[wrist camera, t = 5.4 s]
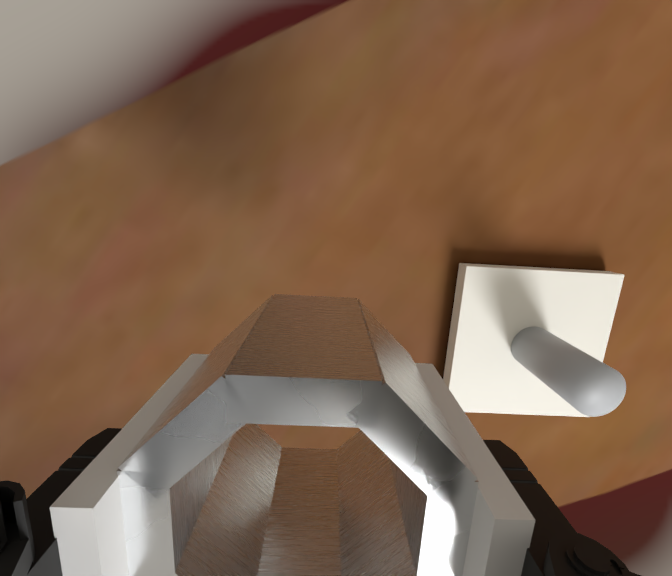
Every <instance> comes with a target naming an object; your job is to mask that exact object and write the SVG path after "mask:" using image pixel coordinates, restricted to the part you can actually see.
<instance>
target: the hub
mask: <svg viewBox="0 0 672 576" xmlns="http://www.w3.org/2000/svg"><path fill="white" fill-rule="evenodd" d="M257 424H275V425H303V426H331V427H359V428H360V429H361V431H359V432H358V433H357V434H356V435H354V436H353V437H352V438H351V439H349V440H348V441H347V442H345V443H344V444H343V445H342V446H340V447H339V448H338V449H311V448H282V447H281V446H280V445H279V444H278V443H277V442H275V441H274V440H273V439H272V438H271V437H270V436H269V435H268V434H267V433H266V432H265V431H263V430H262V429H261V428H260V427H259V426H258V425H257ZM117 476H119V483H120V493H121V502H122V512H123V522H124V531H125V541H126V551H127V560H128V570H129V576H462V575H463V569H464V563H465V558H466V552H467V546H468V541H469V535H470V529H471V524H472V518H473V512H474V506H475V501H476V495H477V489H478V484H479V481H478V480H477V479H478V478H477V476H476V475H475V473H474V471H473V469H472V467H471V465H470V464H469V462H468V460H467V458H466V456H465V454H464V453H463V451H462V449H461V447H460V445H459V443H458V442H457V440H456V438H455V436H454V434H453V432H452V431H451V429H450V427H449V425H448V423H447V421H446V420H445V418H444V416H443V414H442V412H441V411H440V409H439V407H438V405H437V403H436V401H435V400H434V398H433V396H432V394H431V392H430V390H429V389H428V387H427V385H426V383H425V381H424V379H423V378H422V376H421V374H420V372H419V370H418V368H417V367H416V365H415V363H414V361H413V359H412V357H411V356H410V354H409V353H408V352H407V351H406V350H405V349H404V348H403V347H402V346H401V344H400V343H399V342H398V341H397V340H396V339H395V338H394V337H393V336H392V335H391V334H390V332H389V331H388V330H387V329H386V328H385V327H384V326H383V325H382V324H381V323H380V322H379V320H378V319H377V318H376V317H375V316H374V315H373V314H372V313H371V312H370V311H369V310H368V308H367V307H366V306H365V305H364V304H363V303H362V302H361V301H360V300H359V299H358V300H357V298H344V297H323V296H302V295H281V294H275V295H274V296H273V295H272V296H271V297H270V298H269V299H268V300H267V301H265V302H264V303H263V304H262V305H261V306H260V307H259V308H258V309H257V310H255V311H254V312H253V313H252V314H251V315H250V316H249V317H248V318H247V319H246V320H244V321H243V322H242V323H241V324H240V325H239V326H238V327H237V328H236V329H234V330H233V331H232V332H231V333H230V334H229V335H228V336H227V337H226V338H225V339H223V340H222V341H221V342H220V343H219V344H218V345H217V346H216V347H215V348H214V349H213V350H212V352H211V353H210V354H209V355H208V357H207V358H206V359H205V360H204V361H203V363H202V364H201V365H200V366H199V368H198V369H197V370H196V371H195V373H194V374H193V375H192V376H191V378H190V379H189V380H188V381H187V383H186V384H185V385H184V386H183V388H182V389H181V390H180V391H179V392H178V394H177V395H176V396H175V397H174V399H173V400H172V401H171V402H170V404H169V405H168V406H167V407H166V409H165V410H164V411H163V412H162V414H161V415H160V416H159V417H158V419H157V420H156V421H155V422H154V423H153V425H152V426H151V427H150V428H149V430H148V431H147V432H146V433H145V435H144V436H143V437H142V438H141V440H140V441H139V442H138V443H137V445H136V446H135V447H134V448H133V450H132V451H131V452H130V453H129V454H128V456H127V457H126V458H125V459H124V461H123V462H122V463H121V464H120V466H119V467H118V470H117Z"/></svg>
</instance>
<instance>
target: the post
mask: <svg viewBox="0 0 672 576" xmlns="http://www.w3.org/2000/svg"><path fill="white" fill-rule="evenodd" d="M623 279H624V275H623V274H619V273H614V272H610V271H596V270H578V269H560V268H542V267H523V266H505V265H487V264H469V263H459V269H458V276H457V283H456V290H455V297H454V304H453V312H452V319H451V326H450V333H449V340H448V347H447V354H446V362H445V369H444V376H443V381H444V382H445V384H446V385H447V387H448V388H449V390H450V391H451V393H452V394H453V396H454V397H455V399H456V400H457V402H458V403H459V405H460V406H461V408H462V409H463V411H464V412H478V413H503V414H528V415H552V416H577V417H589V416H592V417H596V416H602V415H605V414H607V413H609V412H611V411H613V410H614V409H615V408H616V407H617V406H618V405H619V404H620V403H621V402H622V400H623V398H624V396H625V392H626V383H625V380H624V377H623V376H622V375H621V374H620V373H619V372H618V371H616V370H615V369H613V368H611V367H609V366H608V365H606V364H604V363H603V359H604V355H605V351H606V347H607V343H608V339H609V335H610V331H611V327H612V323H613V319H614V315H615V311H616V307H617V303H618V299H619V295H620V291H621V287H622V283H623Z"/></svg>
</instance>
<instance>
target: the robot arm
mask: <svg viewBox="0 0 672 576" xmlns="http://www.w3.org/2000/svg"><path fill="white" fill-rule="evenodd" d="M207 357H208V355H206V354H191V355H190V356H189V357H188V358H187V360H186V361H185V362H184V363H183V364H182V365H181V366H180V367H179V368H178V369H177V370H176V371H175V372H174V374H173V375H172V376H171V377H170V378H169V379H168V380H167V381H166V382H165V383H164V384H163V385H162V386H161V388H160V389H159V390H158V391H157V392H156V393H155V394H154V395H153V396H152V397H151V398H150V399H149V401H148V402H147V403H146V404H145V405H144V406H143V407H142V408H141V409H140V410H139V411H138V412H137V413H136V415H135V416H134V417H133V418H132V419H131V420H130V421H129V422H128V423H127V424H126V425H125V426H124V427H123V429H118V428H107V429H105V430H104V431H102V432H100V433H99V434H97V435H95V436H94V437H92V438H90V439H89V440H87V441H86V442H85V443H84V444H83V445H82V446H81V447H80V448H79V449H78V450H77V451H76V452H75V453H74V454H73V455H72V457H71V458H68V459H67V460H66V461H65V462H64V463H63V464H62V465H61V466H60V467H59V470H58V471H55V472H54V473H53V474H52V475H51V476H50V477H49V478H48V479H47V480H46V481H45V482H44V483H43V484H42V485H41V486H40V487H39V488H37V489H36V490H35V491H34V492H33V493H32V494H31V495H30V496H29V497H28V498H27V499H26V495H25V490H24V489H23V487H22V486H21V485H20V483H16V482H12V481H0V576H129V570H128V560H127V551H126V541H125V531H124V522H123V512H122V502H121V493H120V483H119V476H117V470H118V467H119V466H120V464H121V463H122V462H123V461H124V459H125V458H126V457H127V456H128V454H129V453H130V452H131V451H132V450H133V448H134V447H135V446H136V445H137V443H138V442H139V441H140V440H141V438H142V437H143V436H144V435H145V433H146V432H147V431H148V430H149V428H150V427H151V426H152V425H153V423H154V422H155V421H156V420H157V419H158V417H159V416H160V415H161V414H162V412H163V411H164V410H165V409H166V407H167V406H168V405H169V404H170V402H171V401H172V400H173V399H174V397H175V396H176V395H177V394H178V392H179V391H180V390H181V389H182V388H183V386H184V385H185V384H186V383H187V381H188V380H189V379H190V378H191V376H192V375H193V374H194V373H195V371H196V370H197V369H198V368H199V366H200V365H201V364H202V363H203V361H204V360H205V359H206V358H207ZM415 365H416V367H417V368H418V370H419V372H420V374H421V376H422V378H423V379H424V381H425V383H426V385H427V387H428V389H429V390H430V392H431V394H432V396H433V398H434V400H435V401H436V403H437V405H438V407H439V409H440V411H441V412H442V414H443V416H444V418H445V420H446V421H447V423H448V425H449V427H450V429H451V431H452V432H453V434H454V436H455V438H456V440H457V442H458V443H459V445H460V447H461V449H462V451H463V453H464V454H465V456H466V458H467V460H468V462H469V464H470V465H471V467H472V469H473V471H474V473H475V475H476V476H477V478H478V479H477V480H478V481H479V484H478V489H477V495H476V501H475V506H474V512H473V518H472V524H471V529H470V535H469V541H468V546H467V552H466V558H465V563H464V569H463V575H462V576H640V575H637V574H635V573H632V572H630V571H629V570H628V569H627V567H626V566H625V564H624V563H623V562H622V561H621V560H620V559H619V558H618V557H617V556H616V555H615V554H613V553H612V552H611V551H610V550H609V549H607V548H606V547H604V546H603V545H601V544H600V543H598V542H597V541H595V540H593V539H591V538H588V537H586V536H584V535H581V534H579V533H577V532H576V531H575V530H574V528H573V527H572V526H571V524H570V523H569V522H568V520H567V519H566V518H565V516H564V515H563V514H562V513H561V511H560V510H559V509H558V507H557V506H556V505H555V503H554V502H553V501H552V499H551V498H550V497H549V495H548V494H547V493H546V491H545V490H544V489H543V488H542V486H541V485H540V484H538V483H537V480H536V478H535V477H534V476H533V474H532V473H531V472H530V471H528V468H527V466H526V465H525V464H524V463H523V461H522V460H521V459H520V457H519V456H518V455H517V453H516V452H514V451H513V450H512V449H510V448H509V447H508V446H506V445H505V444H504V443H502V442H501V441H500V440H482V438H481V437H480V435H479V434H478V432H477V431H476V429H475V428H474V426H473V425H472V423H471V422H470V420H469V419H468V417H467V416H466V414H465V413H464V411H463V409H462V408H461V406H460V405H459V403H458V402H457V400H456V399H455V397H454V396H453V394H452V393H451V391H450V390H449V388H448V387H447V385H446V384H445V382H444V381H443V379H442V378H441V376H440V375H439V373H438V372H437V370H436V369H435V367H434V366H433V364H423V363H415Z"/></svg>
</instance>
